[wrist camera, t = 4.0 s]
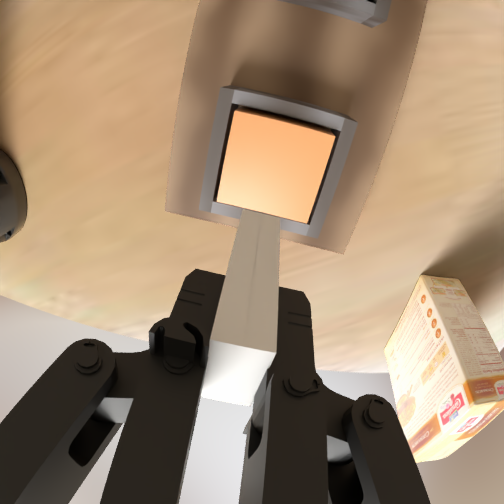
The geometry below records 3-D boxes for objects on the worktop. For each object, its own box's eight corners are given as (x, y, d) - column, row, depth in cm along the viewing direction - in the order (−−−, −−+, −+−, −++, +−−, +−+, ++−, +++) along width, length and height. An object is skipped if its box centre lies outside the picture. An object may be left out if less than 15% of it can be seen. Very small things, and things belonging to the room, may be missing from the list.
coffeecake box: (419, 350, 43) (447, 458, 26) (381, 350, 43) (402, 466, 27) (460, 277, 34) (520, 396, 18) (419, 272, 35) (474, 406, 18)
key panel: (177, 195, 33) (149, 231, 26) (243, -95, 14) (230, -133, 7) (338, 234, 33) (349, 279, 26) (421, -47, 14) (455, -71, 8)
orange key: (223, 187, 25) (216, 201, 23) (240, 106, 22) (234, 110, 19) (305, 207, 26) (307, 223, 23) (329, 128, 22) (335, 136, 19)
